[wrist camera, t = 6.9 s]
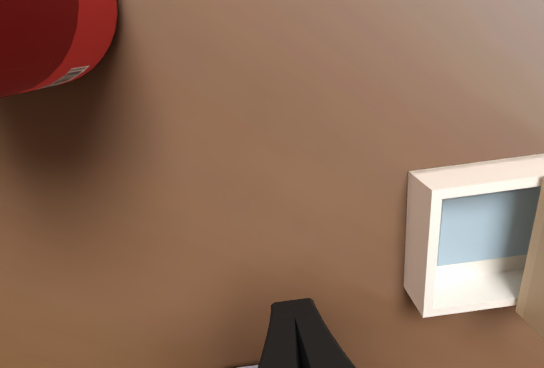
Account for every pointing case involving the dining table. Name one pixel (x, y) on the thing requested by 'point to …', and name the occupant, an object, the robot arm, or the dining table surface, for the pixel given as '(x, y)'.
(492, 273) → the box
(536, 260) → the lid
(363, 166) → the dining table surface
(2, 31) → the canned food
